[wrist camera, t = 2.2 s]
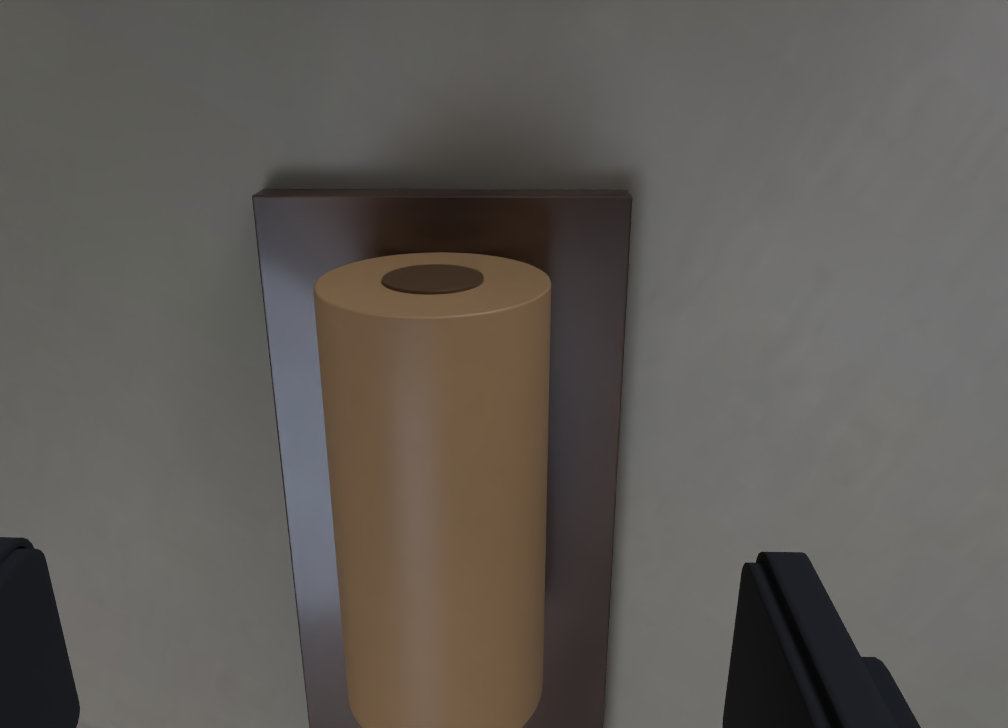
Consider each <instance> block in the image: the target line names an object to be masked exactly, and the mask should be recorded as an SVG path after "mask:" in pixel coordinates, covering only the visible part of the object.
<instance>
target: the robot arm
mask: <svg viewBox="0 0 1008 728" xmlns="http://www.w3.org/2000/svg"><path fill="white" fill-rule="evenodd" d="M79 712H80V706H79V700H78V696H77V691H76V687H75V683H74V679H73V674H72V670H71V666H70V661H69V657H68V653H67V648H66V644H65V640H64V636H63V631H62V627H61V623H60V618H59V614H58V610H57V606H56V601H55V597H54V593H53V588H52V584H51V580H50V576H49V571H48V567H47V563H46V559H45V556H44V554H43V553H42V551H41V550H38V549H34V547H33V545H32V543H31V542H30V541H29V540H28V539H25V538H6V537H0V728H76V726H77V724H78V719H79ZM723 728H921V727H920V726H919V724H918V722H917V720H916V718H915V717H914V715H913V713H912V711H911V710H910V708H909V706H908V704H907V702H906V701H905V699H904V697H903V695H902V693H901V692H900V690H899V688H898V686H897V685H896V683H895V681H894V679H893V677H892V676H891V674H890V672H889V670H888V669H887V668H886V666H885V665H884V663H883V662H882V661H880V660H879V659H877V658H876V657H861V656H860V654H859V652H858V651H857V649H856V647H855V645H854V643H853V641H852V639H851V637H850V635H849V633H848V632H847V630H846V628H845V626H844V624H843V622H842V620H841V618H840V616H839V615H838V613H837V611H836V609H835V607H834V605H833V603H832V601H831V599H830V597H829V596H828V594H827V592H826V590H825V588H824V586H823V584H822V582H821V580H820V579H819V577H818V575H817V573H816V571H815V569H814V567H813V565H812V563H811V561H810V560H809V558H808V557H807V555H806V554H805V553H800V552H761V553H759V555H758V557H757V560H756V563H745V564H744V565H743V568H742V573H741V581H740V589H739V597H738V605H737V612H736V620H735V628H734V636H733V644H732V652H731V660H730V668H729V675H728V683H727V691H726V699H725V707H724V715H723Z"/></svg>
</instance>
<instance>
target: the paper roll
mask: <svg viewBox="0 0 1008 728" xmlns="http://www.w3.org/2000/svg"><path fill="white" fill-rule="evenodd" d="M313 294H314V306H315V318H316V330H317V341H318V353H319V365H320V376H321V388H322V400H323V411H324V423H325V435H326V447H327V458H328V470H329V482H330V493H331V505H332V517H333V529H334V540H335V552H336V564H337V575H338V587H339V599H340V611H341V622H342V634H343V646H344V657H345V669H346V681H347V693H348V700H349V705H350V708H351V711H352V713H353V715H354V717H355V719H356V720H357V722H358V723H359V725H360V726H361V727H362V728H522V727H523V726H524V725H525V724H526V722H527V721H528V720H529V719H530V718H531V716H532V714H533V713H534V711H535V710H536V708H537V706H538V703H539V701H540V698H541V694H542V689H543V654H544V606H545V559H546V512H547V464H548V417H549V370H550V322H551V281H550V278H549V277H548V276H547V274H546V273H544V272H543V271H542V270H540V269H538V268H536V267H534V266H532V265H529V264H526V263H523V262H520V261H516V260H512V259H508V258H503V257H497V256H490V255H482V254H471V253H447V252H436V253H412V254H400V255H391V256H384V257H377V258H372V259H366V260H362V261H358V262H354V263H350V264H347V265H344V266H341V267H338V268H336V269H333V270H331V271H329V272H327V273H325V274H324V275H322V276H321V277H320V278H319V279H318V280H317V281H316V283H315V284H314V288H313Z"/></svg>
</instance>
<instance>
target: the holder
mask: <svg viewBox="0 0 1008 728" xmlns="http://www.w3.org/2000/svg"><path fill="white" fill-rule="evenodd" d="M252 200H253V209H254V218H255V228H256V237H257V246H258V255H259V265H260V274H261V283H262V292H263V302H264V311H265V320H266V329H267V339H268V348H269V357H270V366H271V376H272V385H273V394H274V403H275V413H276V422H277V431H278V440H279V450H280V459H281V468H282V477H283V487H284V496H285V505H286V514H287V524H288V533H289V542H290V551H291V561H292V570H293V579H294V588H295V598H296V607H297V616H298V625H299V634H300V644H301V653H302V662H303V671H304V681H305V690H306V699H307V708H308V718H309V727H310V728H362V727H361V726H360V725H359V723H358V722H357V720H356V719H355V717H354V715H353V713H352V711H351V708H350V705H349V700H348V693H347V681H346V669H345V657H344V646H343V634H342V622H341V611H340V599H339V587H338V575H337V564H336V552H335V540H334V529H333V517H332V505H331V493H330V482H329V470H328V458H327V447H326V435H325V423H324V411H323V400H322V388H321V376H320V365H319V353H318V341H317V330H316V318H315V306H314V294H313V288H314V284H315V283H316V281H317V280H318V279H319V278H320V277H321V276H322V275H324V274H325V273H327V272H329V271H331V270H333V269H336V268H338V267H341V266H344V265H347V264H350V263H354V262H358V261H362V260H366V259H372V258H377V257H384V256H391V255H400V254H412V253H436V252H447V253H471V254H482V255H490V256H497V257H503V258H508V259H512V260H516V261H520V262H523V263H526V264H529V265H532V266H534V267H536V268H538V269H540V270H542V271H543V272H544V273H546V274H547V276H548V277H549V278H550V281H551V322H550V370H549V417H548V464H547V512H546V559H545V606H544V654H543V689H542V694H541V698H540V701H539V703H538V706H537V708H536V710H535V711H534V713H533V714H532V716H531V718H530V719H529V720H528V721H527V722H526V724H525V725H524V726H523V727H522V728H603V720H604V702H605V684H606V666H607V648H608V630H609V611H610V593H611V575H612V557H613V539H614V521H615V503H616V484H617V466H618V448H619V430H620V412H621V394H622V376H623V358H624V339H625V321H626V303H627V285H628V267H629V249H630V231H631V212H632V196H631V195H630V193H629V192H628V191H627V190H413V189H263V190H261V191H259V192H258V193H256V194H254V195H253V196H252Z"/></svg>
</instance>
